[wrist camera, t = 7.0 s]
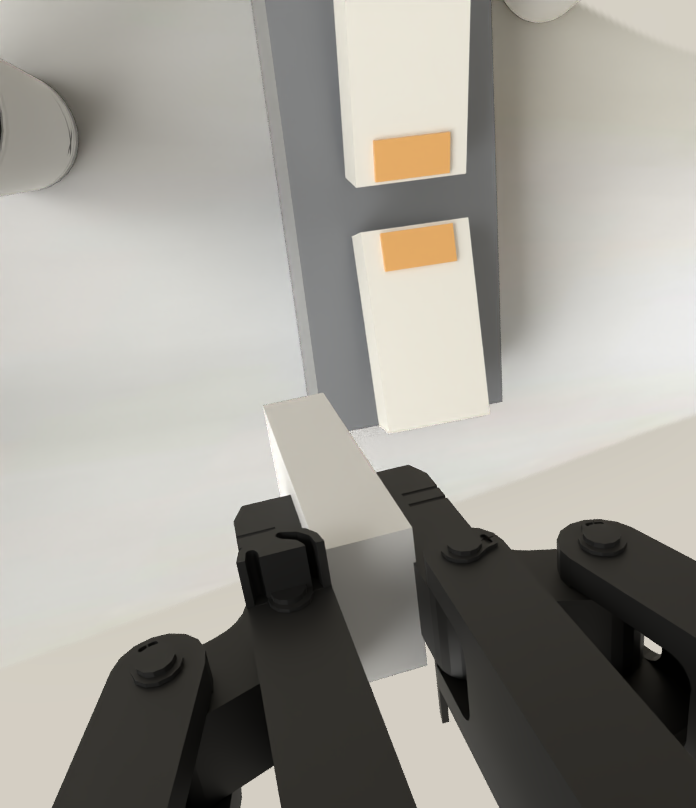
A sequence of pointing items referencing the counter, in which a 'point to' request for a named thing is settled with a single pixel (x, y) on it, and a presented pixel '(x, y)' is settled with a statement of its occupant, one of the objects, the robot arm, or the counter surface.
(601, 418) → the counter surface
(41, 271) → the counter surface
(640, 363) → the counter surface
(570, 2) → the cosmetic bottle
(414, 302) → the rocker
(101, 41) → the counter surface
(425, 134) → the plate
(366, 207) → the switch unit
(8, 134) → the travel mug
